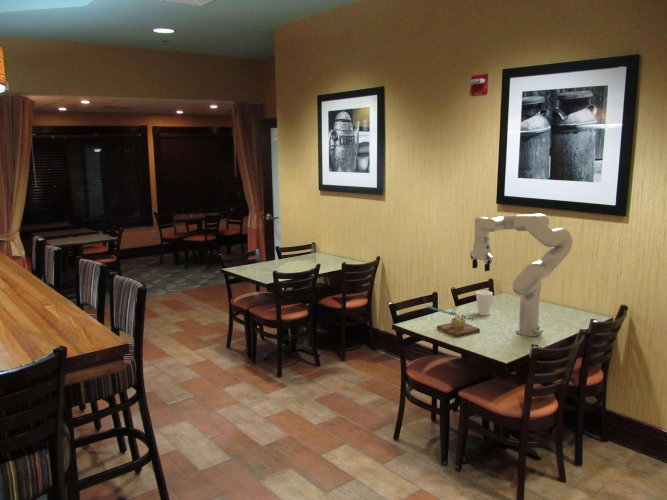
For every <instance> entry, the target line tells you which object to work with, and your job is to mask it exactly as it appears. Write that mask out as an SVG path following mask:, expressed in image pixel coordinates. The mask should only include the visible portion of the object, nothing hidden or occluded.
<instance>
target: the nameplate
mask: <svg viewBox="0 0 667 500" xmlns="http://www.w3.org/2000/svg"><path fill="white" fill-rule="evenodd" d="M425 308H426V309H429V310H433V311H437V312H441V311H442V312H441V313H444V314H447V313H448V312H449V313H448V314H447V315H451V316H454V315H455V314H457V312H453V311H452V312H451V311H446V310H443V309H440V308H436V307H432V306H429V305H428V306H425ZM443 311H444V312H443ZM461 316H464V319H465V320H468V319H469V320H470V319H472V320H471V321H474V320H475V318H474V317H469V316H465V315H464V314H463V315H462V314H461ZM466 317H468V319H467V318H466ZM473 319H474V320H473Z"/></svg>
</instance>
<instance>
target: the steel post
mask: <svg viewBox="0 0 667 500" xmlns="http://www.w3.org/2000/svg"><path fill="white" fill-rule="evenodd" d="M454 315H455V317H454V318H455V320H457V321H461V315H462V314H460V313H456V314H454Z"/></svg>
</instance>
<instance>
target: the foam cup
mask: <svg viewBox="0 0 667 500" xmlns="http://www.w3.org/2000/svg"><path fill="white" fill-rule="evenodd" d="M493 294H494V293H493V292H492V291H489V290H477V291H476V292H475V296H476V305H477V306H476V307H477V312H478V313H479V314H480V316H488V315H490V313H491V312H490V311H491V308H492V307H491V306H492V301H493V296H494V295H493ZM478 313H477V314H478ZM479 314H478V315H479Z"/></svg>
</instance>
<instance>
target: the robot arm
mask: <svg viewBox="0 0 667 500" xmlns="http://www.w3.org/2000/svg"><path fill="white" fill-rule="evenodd" d="M549 225H550V218H549V217H548V216H547V215H546V214H543V213H532V214H531V213H530V214H515V215H502V216H494V217H487V216H477V217H475V218H474V241H473V243H472V244H473V245H472V250H471V251H470V252H469V256H470V258H471V262H472V269H478V268H479V267H478V263H479V262H478V260H481V261H484V263H485V264H484V272H490V271H491V268H490V267H491V266H490V265H491V264H492V262H493V259H494V257H493V256H492V254H491V252H492V251H491V243H490V241H489V240H490V238H489V233H492V232H493V233H495V232H499V231H504V230H516V231H517V232H528V233H529V234H530V235H531V236H532V237H533V238H535V240H537V241H538V242H539V243H540V244H542V245H543V246H544V247H547V248H549V249H548V250H547V251H546V252H545V253H544V254H543V255H542V257H540V259H538V260H535V261H533V262H531V263H528V265H526V266H525V267H524V268H523V269H522V271H521V272H520V273H519V274H518V275H517V276H516V278H515V279H514V280H513V282H512V291H513V292H514V293H515V294H516V295H518V296H520V297H519V320H518V321H519V322H518V323H519V324H518V327H517V328H516V329H515V332H516V333H517V334H519V335H521V336H526V337H538V336H540V335H542V334H543V332H544V329H542V328H541V325H540V324H539V321H540V320H539V318H540V317H539V315H540V297H541V290H542V284H543V283H542V280H544V279H546V278H549V276H551V274H552V273H553V272H554V271H555V270H556V269H557V267H558V266H559V265H561V263H562V262H563V261H564V260H565V258H567V256H568V255H569V253H570V251H571V249H572V245H573V237H572V235H571V233H570V231H568V229H566V228H564V227H557V228H556V227H555V228H553V229H552V228H550V227H549Z"/></svg>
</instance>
